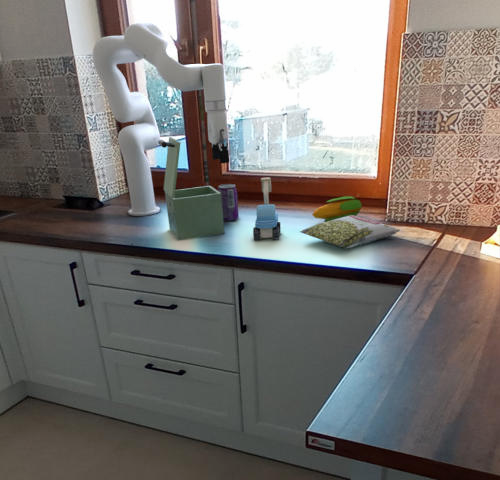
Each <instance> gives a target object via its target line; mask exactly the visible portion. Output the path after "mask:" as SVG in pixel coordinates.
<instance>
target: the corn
mask: <svg viewBox="0 0 500 480" xmlns="http://www.w3.org/2000/svg"><path fill="white" fill-rule="evenodd" d="M325 202H326V203H327V204H324V205H322V206H319V207H318V208H316V209H315V210H314V211H313V212H312V214H311V215H312V217H314V218H315V219H319V220H320V219H321V220H324V221H323V223H324V222H328V221H331V220H335V219H338V218H342V217H346V216H351V215H354V216H358V215H359V213H360V212H361V209H362V207H363V206H362V202H361V201H360V200H359V199H357V198H356V197H354V196H340V197H336V198H332V199H329V200H327V201H325Z"/></svg>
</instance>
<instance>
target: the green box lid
mask: <svg viewBox="0 0 500 480" xmlns="http://www.w3.org/2000/svg"><path fill="white" fill-rule="evenodd" d="M158 143H159V144H158V146H160V147H162V148H163V149H165V148H167V151H166V152H167V153H166V163H165V171H164V181H163V191H164V193H165V192H166V193H167V194H168V195H170V196H171V197H172V198H174V196H175V190H176V187H177V186H176V185H177V176H178V170H179V169H178V168H179V159H180V153H181V152H180V150H181V143H182V142H181V141H179V140H178V139H175V138H173V137H172V136H169V137H168V142H167V141H165V140H163V139H160V140H159V142H158Z"/></svg>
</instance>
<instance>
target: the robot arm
mask: <svg viewBox="0 0 500 480" xmlns="http://www.w3.org/2000/svg"><path fill="white" fill-rule="evenodd" d="M172 54H173V49H172V46H171V44H170V43H169V42H168V41H167V40H165V39H164V36H163V32H162V31H161V29H160V27H158V26H157V25H156V24H154V23H151V22H143V23H142V22H141V23H140V22H138V23H137V22H136V23H131V24H130V25H128V26H127V27H126V29H125V31H124V34H123V35H108V36H103V37H101V38H99V39H98V40H97V41H96V42H95V44H94V45H93V49H92V63H93V66H94V69H95V71H96V73H97V75H98V77H99V80H100V82H101V84H102V87H103V90H104V93H105V96H106V99H107V101H108V105H109V108H110V111H111V113H112V115H113V118H114V119H115V121H117V122H118V123H121V124H122V123H131V122H134V124H131V125H127V126H124V127H123V128H122V129H121V130H119V132H118V135H117V142H118V147H119V149H120V152H121V156H122V159H123V164H124V169H125V175H126V181H127V187H128V193H129V198H130V207H131V208H130V209H128V210H127V213H128V215H130V216H134V217H146V216H151V215H155V214H158V213H159V212H160V211H161V207H159V206H157V205H156V199H155V192H154V184H153V177H152V170H151V164H150V161H149V159H148V157H147V155H146V153H145V152H146V151H149V150H153V149H155V148H157V147H158V146H159V143H158V142H159V140H161V136H160V135H161V134H160V130H159V127H158V123H157V120H156V117H155V114H154V111H153V108H152V105H151V103H150V101H149V99H148V97H147V96H146V95H145V94H144V93H142V92H140V91H131V90H130V89H129V86H128V83H127V79H126V78H125V76H124V74H123V73H122V71H121V70H120V69H119V68H118V66H117V65H120V64H121V65H122V64H132V63H137V62H138V61H141V60H145V61H146V62H147V63H149V64H151V65H152V66H153V67H155V68H156V71H157V73H158V74H159V76H160V78H161V79H162V80H163V81H164V82H166V83H167V84H168V85H170V87H171V86H172V87H173V88H174V89H176V90H178V91H180V92H192V91H199V90H203V98H204V109H205V113H207V115H206V116H207V117H206V118H207V119H206V120H207V121H206V122H207V138H208V142H210V143H211V153H212V160H214V161H215V160H219V163H220V164H228V163H230V153H229V128H228V120H227V113H226V112H228V110H229V107H228V95H227V82H226V81H227V80H226V70H225V66H224V64H222V63H207V64H205V63H194V64H181V63H180V62H178V61H177V60H176V59H174V58H172V56H173V55H172Z"/></svg>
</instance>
